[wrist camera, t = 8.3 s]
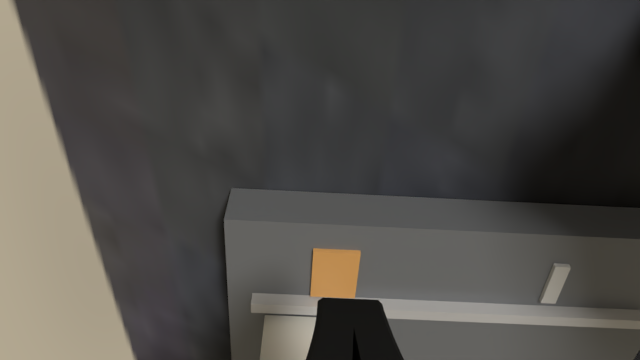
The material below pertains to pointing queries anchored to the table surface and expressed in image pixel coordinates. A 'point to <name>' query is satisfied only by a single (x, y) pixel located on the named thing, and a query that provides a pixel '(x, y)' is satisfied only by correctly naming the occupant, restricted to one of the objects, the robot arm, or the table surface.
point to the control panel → (440, 272)
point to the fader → (286, 337)
